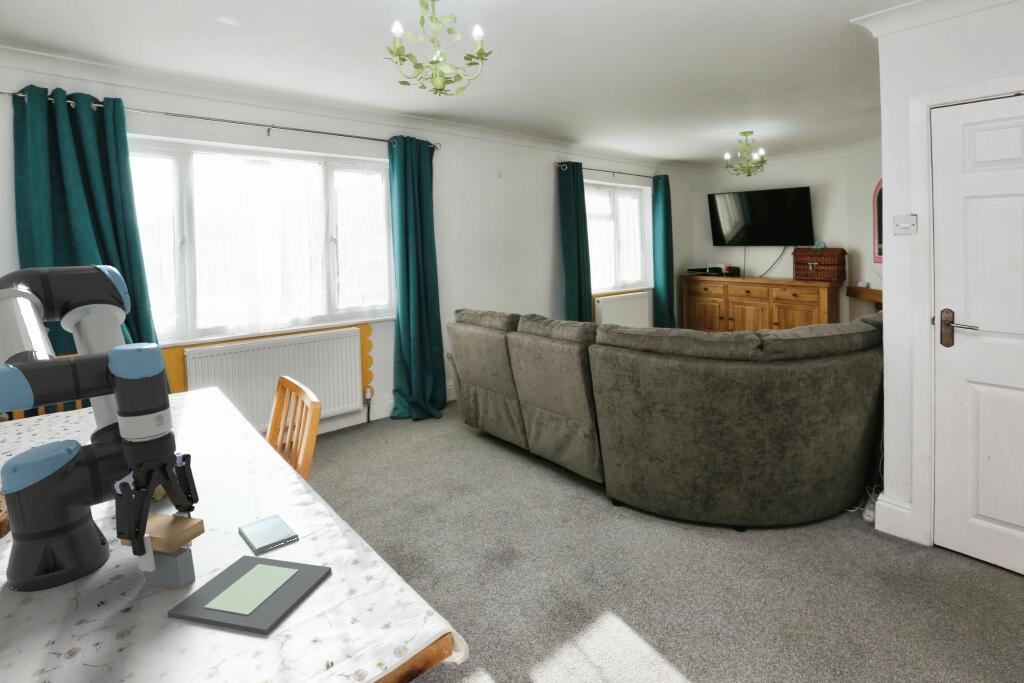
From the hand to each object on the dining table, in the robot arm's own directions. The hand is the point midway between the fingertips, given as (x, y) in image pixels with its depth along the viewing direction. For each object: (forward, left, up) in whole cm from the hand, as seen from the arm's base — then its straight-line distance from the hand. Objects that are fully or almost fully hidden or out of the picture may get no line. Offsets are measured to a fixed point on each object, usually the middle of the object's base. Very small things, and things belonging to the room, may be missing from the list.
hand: (166, 557), depth 99 cm
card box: (0, 0, +4) cm, 4 cm away
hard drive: (+6, +18, -5) cm, 20 cm away
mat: (+18, 0, -5) cm, 18 cm away
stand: (0, 0, -5) cm, 5 cm away
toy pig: (-34, +28, -5) cm, 44 cm away
